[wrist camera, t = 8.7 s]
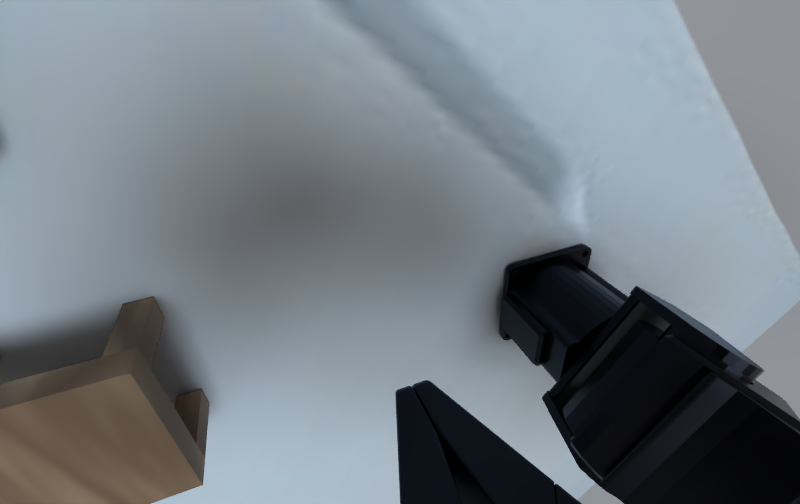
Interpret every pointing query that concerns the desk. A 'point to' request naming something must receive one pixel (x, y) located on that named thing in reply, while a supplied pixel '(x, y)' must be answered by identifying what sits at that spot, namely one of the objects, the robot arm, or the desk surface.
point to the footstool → (102, 426)
